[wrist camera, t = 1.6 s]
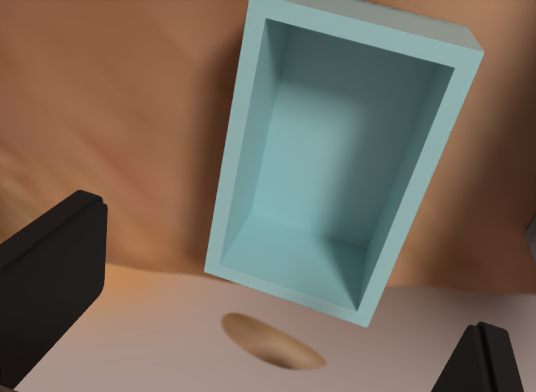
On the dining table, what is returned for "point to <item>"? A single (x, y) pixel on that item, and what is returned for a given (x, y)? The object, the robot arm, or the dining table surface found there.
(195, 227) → the dining table surface
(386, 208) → the small crate
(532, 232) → the large crate
